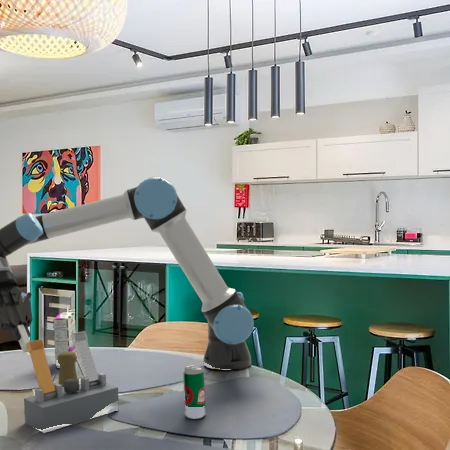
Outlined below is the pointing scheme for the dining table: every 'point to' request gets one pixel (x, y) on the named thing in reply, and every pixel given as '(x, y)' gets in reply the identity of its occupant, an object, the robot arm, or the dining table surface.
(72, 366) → the cork
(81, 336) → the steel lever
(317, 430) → the dining table surface
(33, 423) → the console
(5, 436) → the dining table surface
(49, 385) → the orange lever
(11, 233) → the robot arm
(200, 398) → the soda can
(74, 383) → the button
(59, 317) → the candy bar box
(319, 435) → the dining table surface
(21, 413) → the dining table surface
